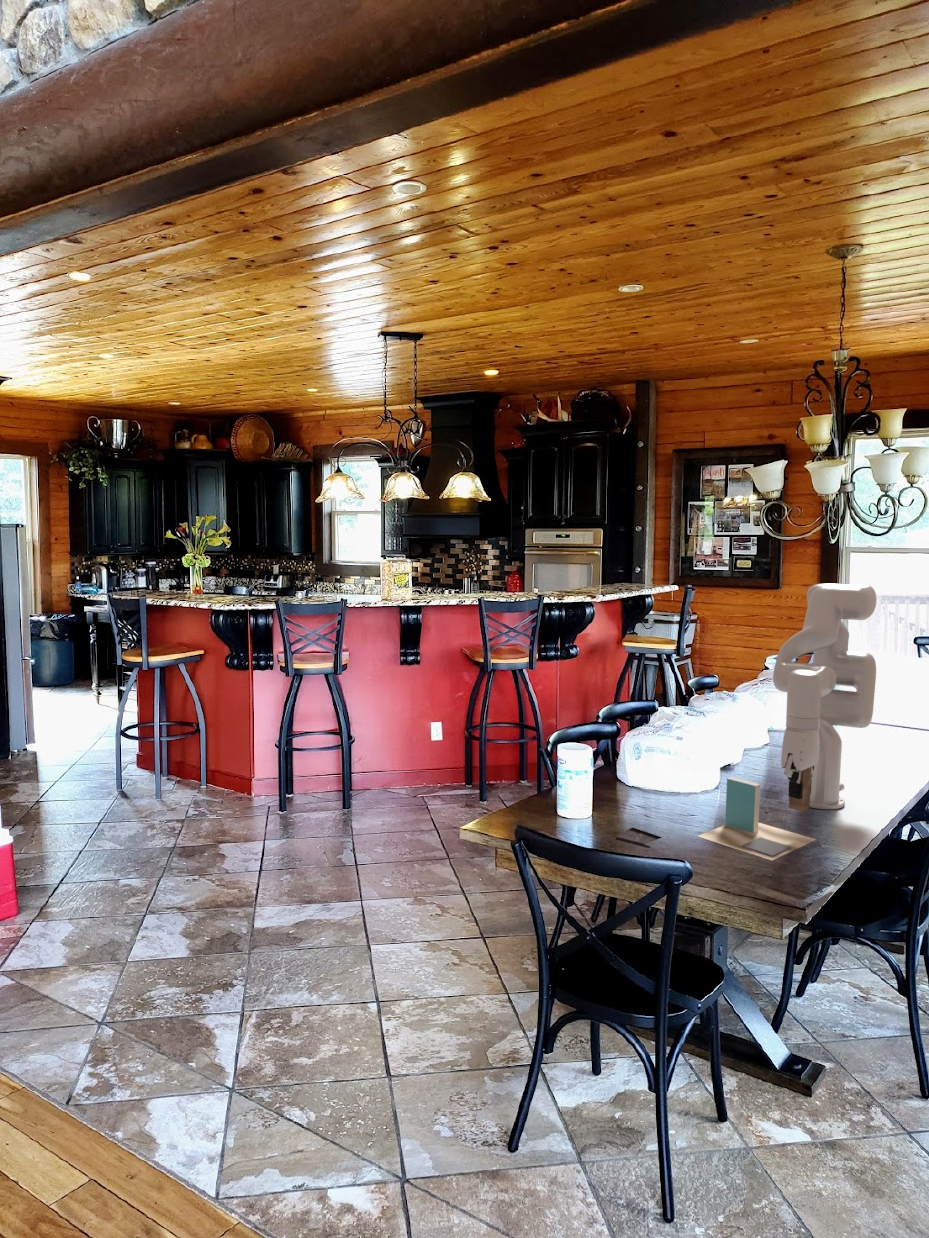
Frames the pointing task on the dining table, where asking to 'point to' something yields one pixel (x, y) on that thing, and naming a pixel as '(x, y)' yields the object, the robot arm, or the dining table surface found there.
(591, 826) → the dining table surface
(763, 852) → the mat
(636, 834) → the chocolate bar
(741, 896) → the dining table surface
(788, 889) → the dining table surface
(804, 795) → the brown wooden block
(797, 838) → the board
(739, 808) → the tile
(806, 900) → the dining table surface
